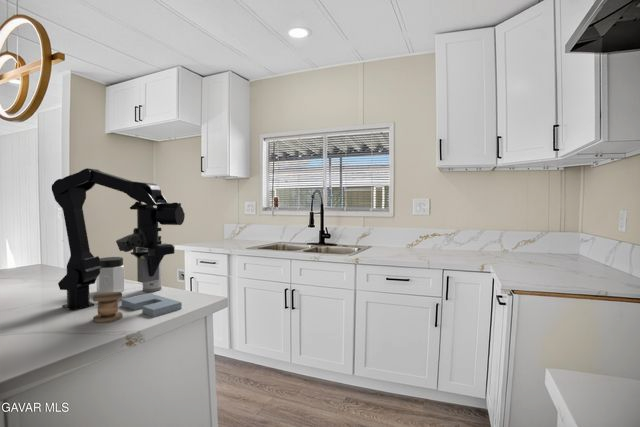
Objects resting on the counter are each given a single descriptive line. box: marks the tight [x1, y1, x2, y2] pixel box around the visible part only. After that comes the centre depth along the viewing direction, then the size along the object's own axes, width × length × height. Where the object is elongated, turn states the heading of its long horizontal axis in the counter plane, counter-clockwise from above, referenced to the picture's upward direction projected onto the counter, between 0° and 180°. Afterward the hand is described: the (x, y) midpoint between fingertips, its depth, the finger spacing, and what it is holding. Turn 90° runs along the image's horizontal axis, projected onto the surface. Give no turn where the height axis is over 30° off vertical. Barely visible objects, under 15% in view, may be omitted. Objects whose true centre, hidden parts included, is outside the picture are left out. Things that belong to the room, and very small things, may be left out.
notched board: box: [120, 292, 183, 318], centre depth 106 cm, size 18×9×2 cm, turn 56°
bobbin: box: [92, 292, 123, 324], centre depth 96 cm, size 7×7×7 cm
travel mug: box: [142, 235, 163, 293], centre depth 126 cm, size 6×7×20 cm
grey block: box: [136, 256, 159, 284], centre depth 104 cm, size 3×5×8 cm, turn 146°
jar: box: [95, 256, 125, 294], centre depth 124 cm, size 9×8×12 cm
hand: (148, 275), depth 105 cm, fingers closed on grey block, 3 cm apart
